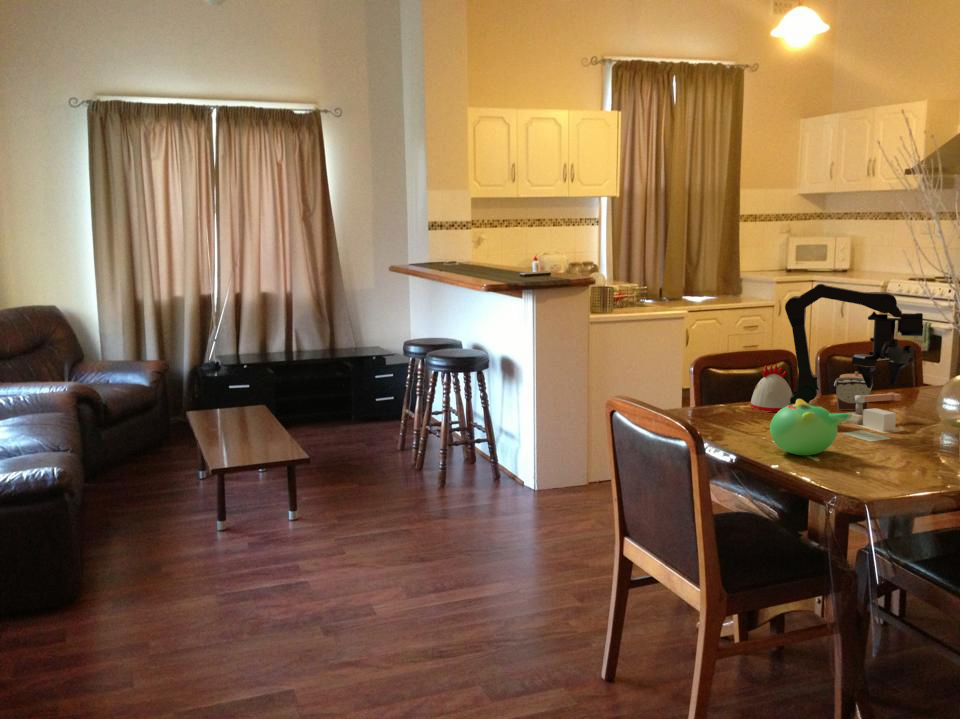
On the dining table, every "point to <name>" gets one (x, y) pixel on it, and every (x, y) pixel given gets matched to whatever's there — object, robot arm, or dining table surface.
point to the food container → (850, 392)
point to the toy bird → (805, 428)
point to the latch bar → (877, 397)
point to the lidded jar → (853, 376)
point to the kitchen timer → (771, 391)
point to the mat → (866, 435)
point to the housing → (858, 419)
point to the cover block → (879, 419)
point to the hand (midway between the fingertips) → (881, 386)
